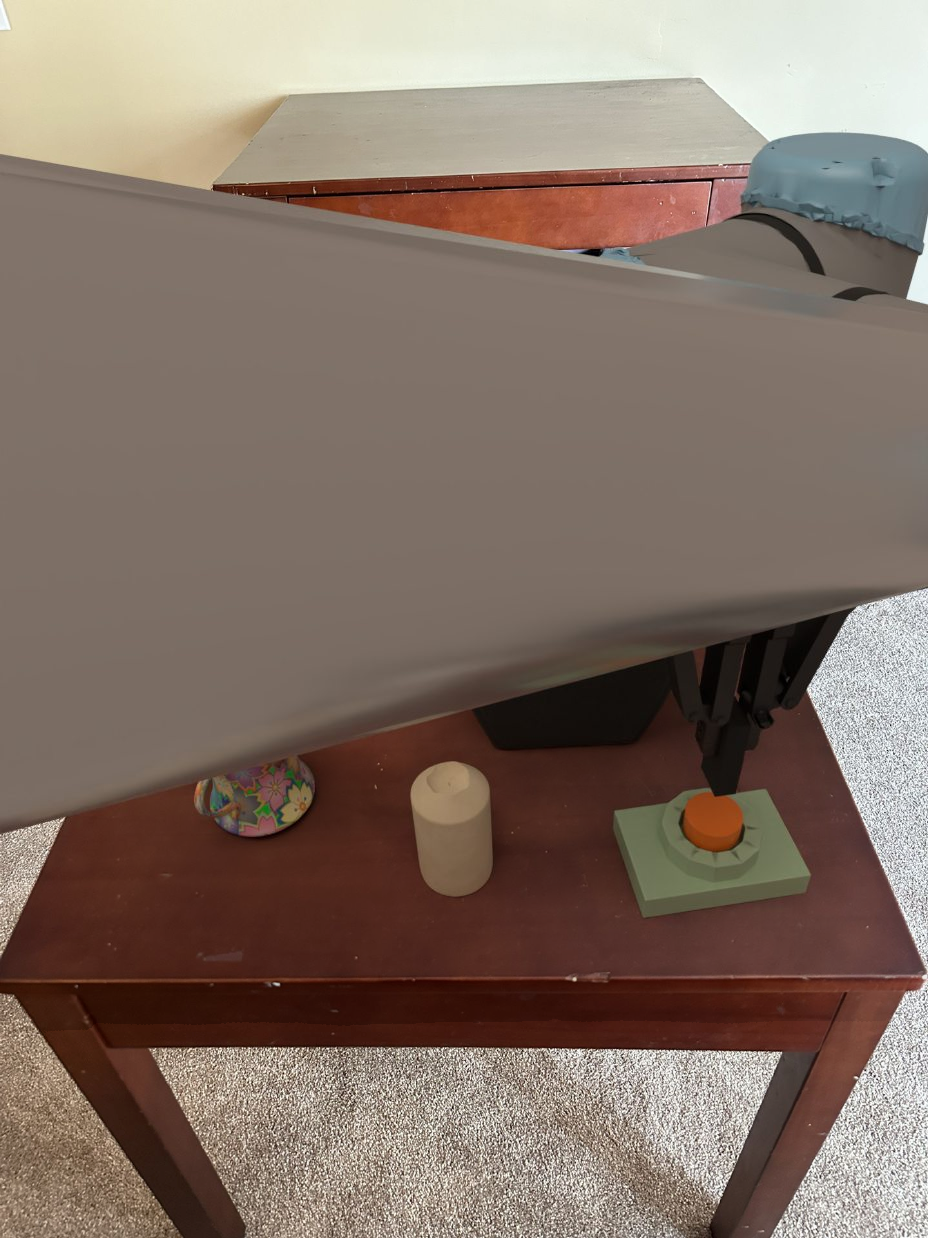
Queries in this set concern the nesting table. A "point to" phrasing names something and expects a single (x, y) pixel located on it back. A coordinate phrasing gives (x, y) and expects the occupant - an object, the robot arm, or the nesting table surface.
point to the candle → (453, 828)
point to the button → (712, 822)
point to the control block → (707, 857)
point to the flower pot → (580, 710)
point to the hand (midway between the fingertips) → (718, 780)
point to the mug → (259, 797)
